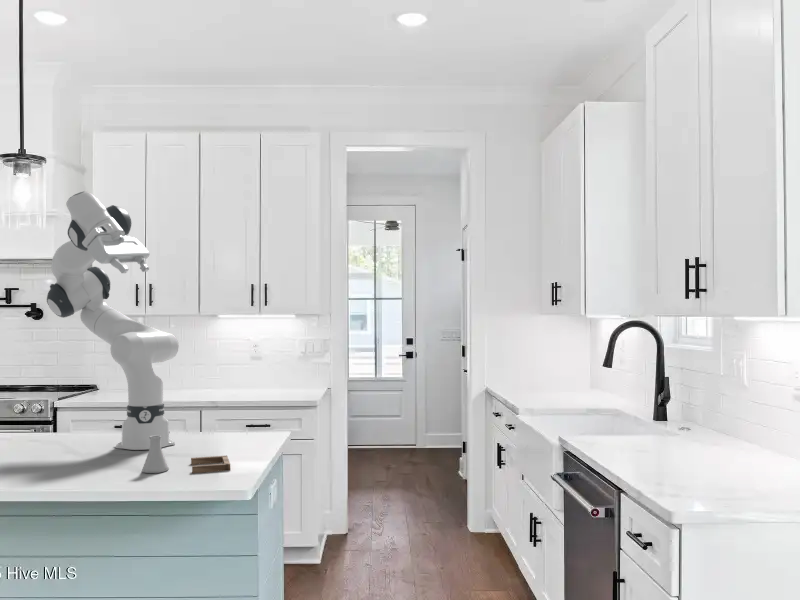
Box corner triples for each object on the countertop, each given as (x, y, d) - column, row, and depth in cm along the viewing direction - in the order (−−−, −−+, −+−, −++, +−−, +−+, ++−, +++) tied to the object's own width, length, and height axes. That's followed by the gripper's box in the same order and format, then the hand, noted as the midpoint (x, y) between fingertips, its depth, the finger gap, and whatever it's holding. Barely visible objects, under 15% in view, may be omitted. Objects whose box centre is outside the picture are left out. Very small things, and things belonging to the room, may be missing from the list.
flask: (160, 474, 198) (160, 438, 198) (136, 473, 199) (136, 438, 200) (173, 468, 205) (173, 434, 205) (150, 467, 206) (150, 433, 207)
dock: (191, 463, 211) (191, 457, 211) (227, 461, 215) (227, 455, 215) (192, 473, 199) (192, 466, 199) (230, 470, 202) (230, 464, 202)
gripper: (125, 243, 219) (151, 276, 217) (77, 243, 199) (106, 280, 197) (137, 229, 217) (164, 262, 215) (90, 228, 198) (119, 265, 196)
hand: (136, 271), depth 206 cm, fingers open, 8 cm apart
